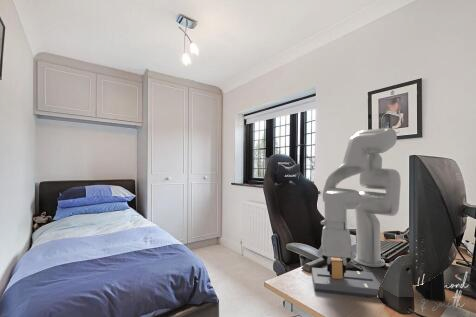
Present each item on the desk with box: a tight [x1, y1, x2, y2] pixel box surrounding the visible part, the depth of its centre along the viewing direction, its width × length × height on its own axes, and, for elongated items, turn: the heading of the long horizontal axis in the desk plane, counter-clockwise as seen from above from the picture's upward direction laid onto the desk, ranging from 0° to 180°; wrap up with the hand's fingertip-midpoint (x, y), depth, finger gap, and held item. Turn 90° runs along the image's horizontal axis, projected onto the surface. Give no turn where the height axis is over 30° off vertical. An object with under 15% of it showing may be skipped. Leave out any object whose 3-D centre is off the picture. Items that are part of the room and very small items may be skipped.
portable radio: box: [414, 271, 446, 302], centre depth 79 cm, size 8×6×25 cm
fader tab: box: [331, 257, 343, 279], centre depth 87 cm, size 4×4×8 cm
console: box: [311, 267, 381, 298], centre depth 86 cm, size 12×22×3 cm, turn 77°
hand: (336, 273), depth 87 cm, fingers closed on fader tab, 3 cm apart
